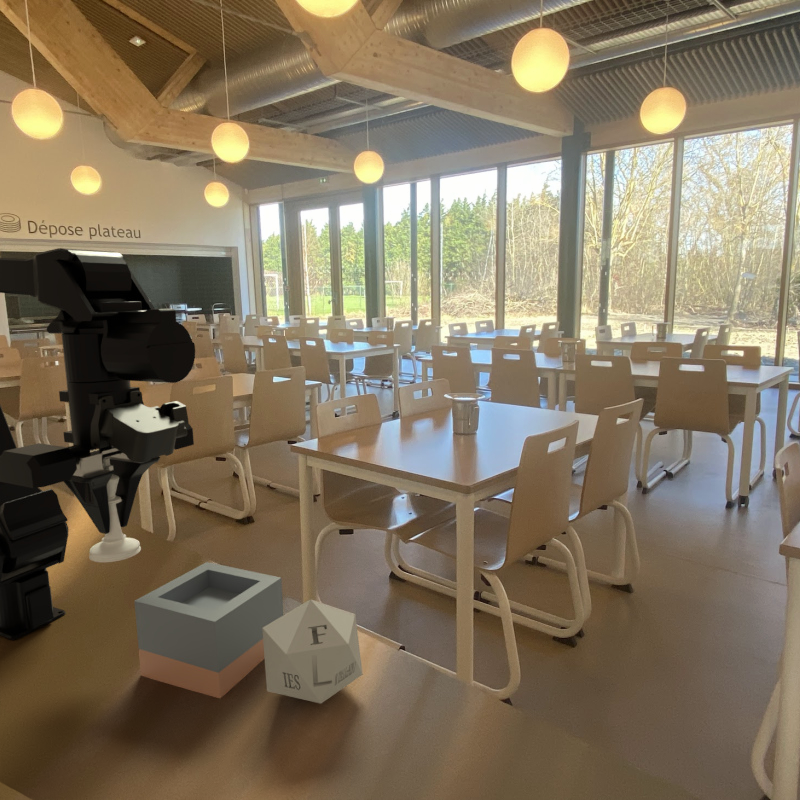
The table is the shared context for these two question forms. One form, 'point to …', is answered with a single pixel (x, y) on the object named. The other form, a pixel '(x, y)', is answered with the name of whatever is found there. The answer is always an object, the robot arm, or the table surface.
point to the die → (311, 652)
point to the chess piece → (113, 530)
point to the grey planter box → (206, 627)
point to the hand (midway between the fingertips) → (113, 529)
